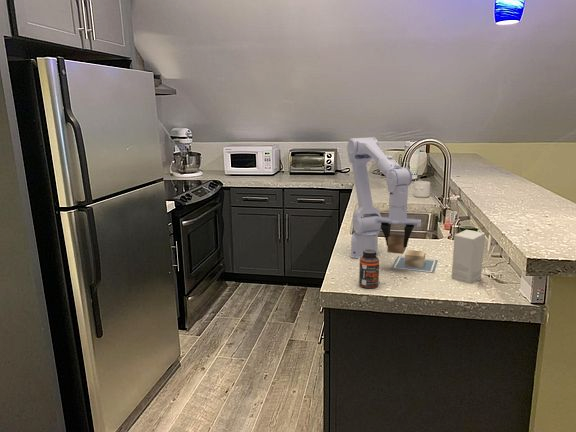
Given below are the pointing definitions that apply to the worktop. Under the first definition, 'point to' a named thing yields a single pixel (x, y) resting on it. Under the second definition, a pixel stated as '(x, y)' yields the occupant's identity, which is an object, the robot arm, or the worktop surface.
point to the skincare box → (468, 256)
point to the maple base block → (415, 258)
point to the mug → (421, 189)
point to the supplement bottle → (369, 269)
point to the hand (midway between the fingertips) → (396, 245)
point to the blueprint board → (427, 267)
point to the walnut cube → (396, 243)
